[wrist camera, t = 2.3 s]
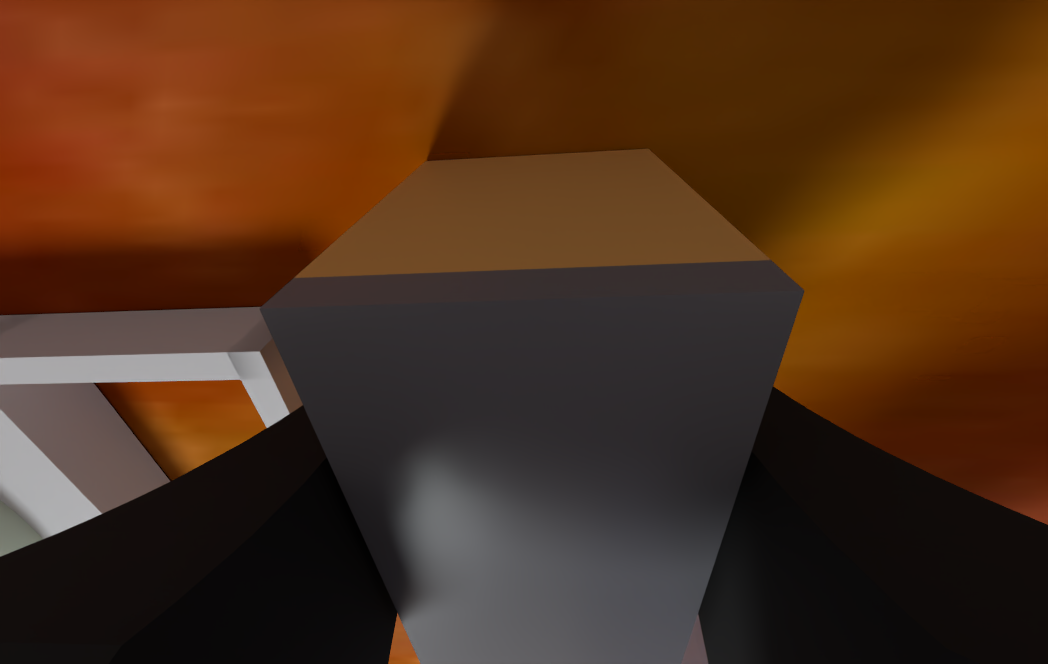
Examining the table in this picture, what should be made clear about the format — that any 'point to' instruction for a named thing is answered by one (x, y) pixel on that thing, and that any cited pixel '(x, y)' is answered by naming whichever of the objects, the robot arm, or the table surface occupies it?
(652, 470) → the rectangular flat-faced block
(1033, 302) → the table surface
